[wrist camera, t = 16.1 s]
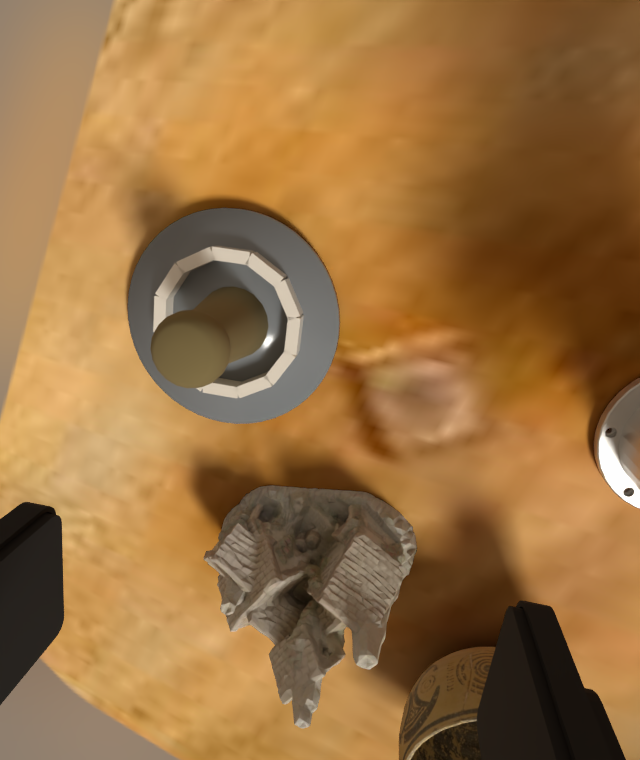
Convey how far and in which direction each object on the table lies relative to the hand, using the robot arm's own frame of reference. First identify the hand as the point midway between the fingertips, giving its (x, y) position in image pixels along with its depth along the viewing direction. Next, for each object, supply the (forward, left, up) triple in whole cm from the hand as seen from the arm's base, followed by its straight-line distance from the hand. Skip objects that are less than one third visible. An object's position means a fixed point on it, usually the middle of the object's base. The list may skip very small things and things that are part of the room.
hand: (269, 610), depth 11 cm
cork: (+11, +2, -34) cm, 35 cm away
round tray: (+11, +2, -34) cm, 36 cm away
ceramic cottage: (+1, +22, -35) cm, 41 cm away
